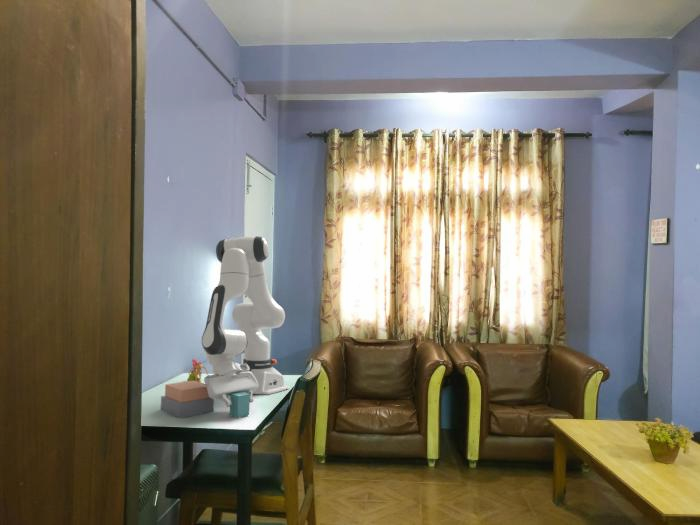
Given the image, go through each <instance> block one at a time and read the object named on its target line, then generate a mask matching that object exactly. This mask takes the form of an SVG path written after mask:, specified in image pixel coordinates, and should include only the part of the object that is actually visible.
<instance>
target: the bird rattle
mask: <svg viewBox="0 0 700 525" xmlns="http://www.w3.org/2000/svg"><path fill="white" fill-rule="evenodd" d="M191 362H192V368H193V367H195V366H197V365H198V363H200V364H201V365H202V362H201V361H199V362H198V361H197V359H194V358H193V359H192V361H191ZM195 372H197V368H193V369H192V371H191V372H190V374H188V375H189V376H188V377H187V381H196V379H195V374H196V373H195ZM187 381H186V382H187ZM197 382H199V375H198V376H197ZM200 382H201V383H202V380H201V379H200Z"/></svg>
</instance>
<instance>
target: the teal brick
mask: <svg viewBox="0 0 700 525" xmlns="http://www.w3.org/2000/svg"><path fill="white" fill-rule="evenodd" d="M229 397H230V400H231V402H232V405H231V407H229V416H230V415H232V416H231V417H233V416H234V417H233V418H235V417H237V418H236V419H240V418H239V417H241V418H245V417H244V416H246V417H249V416H250V403H249V401H250V394H248V393H245V392H237V393H231V394H230V396H229ZM248 415H249V416H248Z"/></svg>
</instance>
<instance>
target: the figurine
mask: <svg viewBox="0 0 700 525" xmlns="http://www.w3.org/2000/svg"><path fill="white" fill-rule="evenodd" d="M197 364H198V365H197V366H195V367H194V366H192V368H191V369H190V370H189V372H188V375H190V374H191V372H192V370H193V368H197V372H195V373H196V374H195V379H196V381H197V376H198V377H199V382H200V380H201V379H202V378H201V377H202V374H203V371H202V369H205V372H206V375H209V372H208V368H207V367H206V366H204V365H202V363H201V364H200V363H199V362H197Z"/></svg>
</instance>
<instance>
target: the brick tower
mask: <svg viewBox="0 0 700 525" xmlns="http://www.w3.org/2000/svg"><path fill="white" fill-rule="evenodd" d="M164 390H165V391H164V392H165V394H164V395H162V396H160V411H162V412H165V413H167V414H169V415H172V416H174V417H176V418H180V419H181V418H184V417H190V416H196V415H200V413H201V414H206V413H211V411H212V412H214V411H215V410H214V408H215V407H214V406H215V405H214V404H215V399H211V398H210V397H209V394H208V391H207V386H206V384H205V382H204V383H203V382H202V381H201V382H197V381H183V382H182V381H181V382H174V383H168V384H165V388H164ZM205 412H206V413H205Z"/></svg>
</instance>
